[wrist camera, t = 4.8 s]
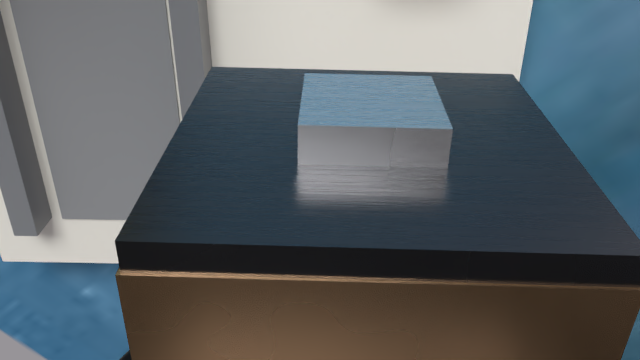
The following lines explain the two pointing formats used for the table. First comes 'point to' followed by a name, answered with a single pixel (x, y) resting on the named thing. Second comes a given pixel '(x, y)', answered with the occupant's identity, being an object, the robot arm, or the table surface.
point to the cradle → (183, 89)
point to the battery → (373, 226)
